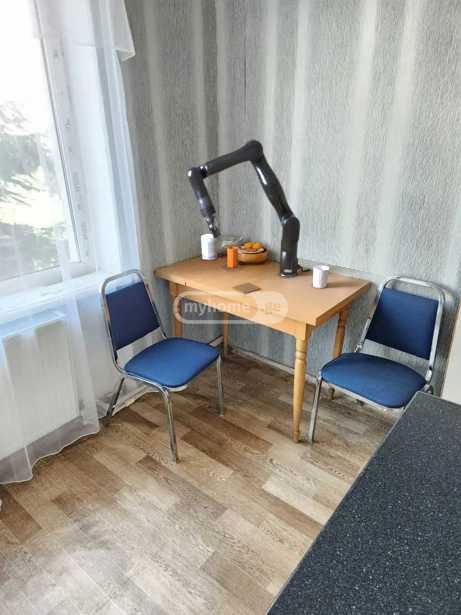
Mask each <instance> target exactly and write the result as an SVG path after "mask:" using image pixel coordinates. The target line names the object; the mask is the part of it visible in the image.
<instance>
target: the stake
mask: <svg viewBox="0 0 461 615" xmlns="http://www.w3.org/2000/svg"><path fill="white" fill-rule="evenodd" d="M223 267H225V268H226V269H228V270H234V269H241V268H243V266H242V265H240V264H239V263H238V266H237V267H234V268H232V267H228V263H226V264H223Z"/></svg>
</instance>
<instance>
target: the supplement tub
mask: <svg viewBox="0 0 461 615" xmlns="http://www.w3.org/2000/svg"><path fill="white" fill-rule="evenodd" d="M200 237H201V238H200V242H201V258H202V259H203V260H215V259H218V239H217V238H218V237H216V238H214V237H213V234H212V233H206V234H203V235H201V236H200Z"/></svg>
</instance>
